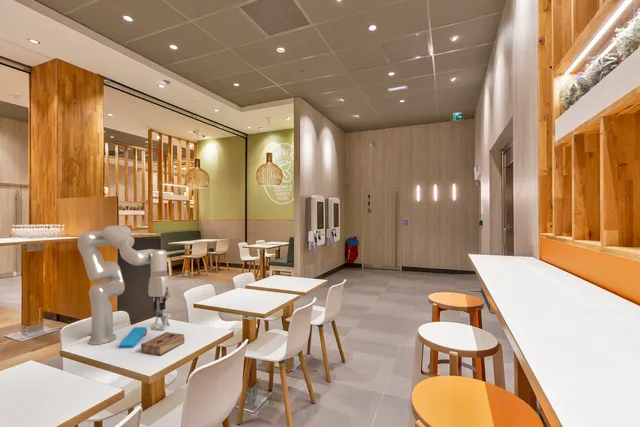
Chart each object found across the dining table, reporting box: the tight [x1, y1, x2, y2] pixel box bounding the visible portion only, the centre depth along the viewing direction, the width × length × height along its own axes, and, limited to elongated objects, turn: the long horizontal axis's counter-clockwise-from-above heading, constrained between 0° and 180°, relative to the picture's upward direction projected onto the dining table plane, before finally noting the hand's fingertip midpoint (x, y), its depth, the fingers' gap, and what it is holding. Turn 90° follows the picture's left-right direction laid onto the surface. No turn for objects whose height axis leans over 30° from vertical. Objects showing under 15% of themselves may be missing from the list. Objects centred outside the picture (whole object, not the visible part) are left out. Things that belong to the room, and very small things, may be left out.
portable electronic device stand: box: [150, 312, 172, 332], centre depth 186 cm, size 9×8×8 cm
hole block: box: [140, 331, 185, 357], centre depth 158 cm, size 12×16×4 cm
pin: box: [155, 297, 164, 318], centre depth 159 cm, size 3×3×10 cm
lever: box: [118, 326, 148, 349], centre depth 168 cm, size 7×7×18 cm
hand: (159, 309), depth 159 cm, fingers closed on pin, 3 cm apart
